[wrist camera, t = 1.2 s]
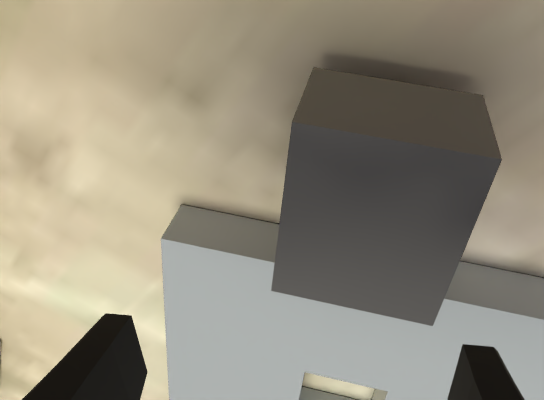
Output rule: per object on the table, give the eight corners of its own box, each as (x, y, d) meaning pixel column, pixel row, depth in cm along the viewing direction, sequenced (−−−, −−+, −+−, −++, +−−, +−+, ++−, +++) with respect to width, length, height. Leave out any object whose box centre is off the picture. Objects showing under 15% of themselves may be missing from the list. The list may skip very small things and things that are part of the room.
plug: (476, 73, 18) (502, 159, 13) (426, 220, 21) (432, 326, 17) (321, 48, 18) (292, 121, 14) (299, 195, 22) (270, 291, 17)
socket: (591, 287, 22) (615, 346, 19) (460, 489, 32) (465, 544, 30) (181, 204, 24) (155, 247, 21) (185, 420, 34) (168, 465, 32)
